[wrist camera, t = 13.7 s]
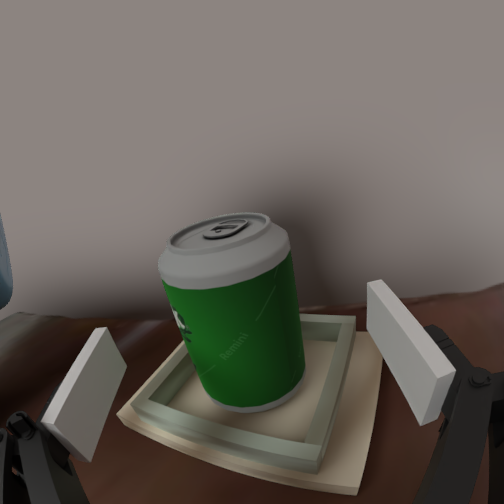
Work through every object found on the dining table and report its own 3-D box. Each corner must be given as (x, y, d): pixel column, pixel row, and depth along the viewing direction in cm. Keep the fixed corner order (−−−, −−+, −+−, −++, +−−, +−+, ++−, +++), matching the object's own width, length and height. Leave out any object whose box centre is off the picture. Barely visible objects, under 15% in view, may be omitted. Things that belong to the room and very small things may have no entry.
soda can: (321, 358, 22) (304, 205, 17) (281, 435, 16) (242, 260, 12) (238, 344, 26) (204, 211, 21) (188, 403, 20) (125, 254, 15)
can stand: (124, 425, 19) (104, 397, 18) (206, 329, 31) (197, 302, 30) (356, 495, 12) (362, 474, 10) (383, 345, 23) (386, 313, 22)
